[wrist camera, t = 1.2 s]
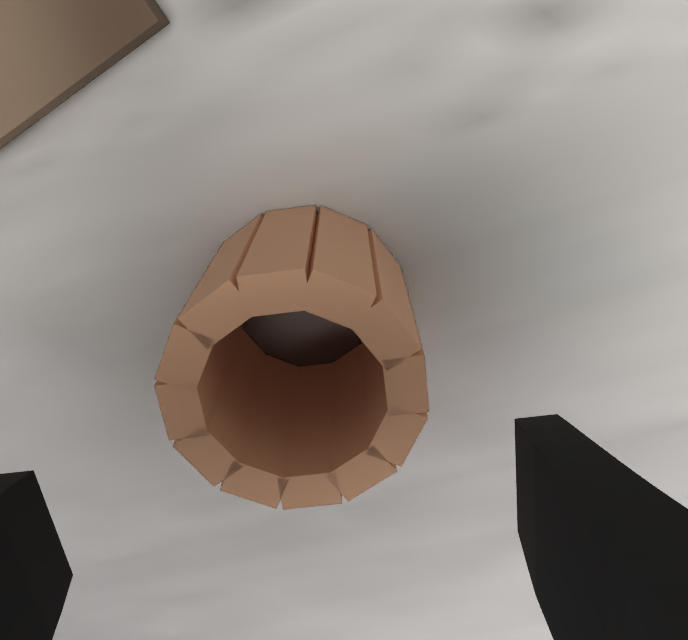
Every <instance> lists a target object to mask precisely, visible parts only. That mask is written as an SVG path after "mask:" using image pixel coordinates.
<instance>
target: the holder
mask: <svg viewBox="0 0 688 640" xmlns="http://www.w3.org/2000/svg"><path fill="white" fill-rule="evenodd" d="M169 23H170V22H169V21H168V19H167V18H166V16H165V15H164V13H163V12H162V10H161V9H160V7H159V6H158V4H157V3H156V1H155V0H0V148H2V147H3V146H4V145H6V144H7V143H8V142H10V141H11V140H12V139H14V138H15V137H16V136H18V135H19V134H20V133H22V132H23V131H24V130H26V129H27V128H29V127H30V126H31V125H33V124H34V123H35V122H37V121H38V120H39V119H41V118H42V117H43V116H45V115H46V114H47V113H49V112H50V111H51V110H53V109H54V108H56V107H57V106H58V105H60V104H61V103H62V102H64V101H65V100H66V99H68V98H69V97H70V96H72V95H73V94H74V93H76V92H77V91H78V90H80V89H81V88H83V87H84V86H85V85H87V84H88V83H89V82H91V81H92V80H93V79H95V78H96V77H97V76H99V75H100V74H101V73H103V72H104V71H105V70H107V69H108V68H110V67H111V66H112V65H114V64H115V63H116V62H118V61H119V60H120V59H122V58H123V57H124V56H126V55H127V54H128V53H130V52H131V51H133V50H134V49H135V48H137V47H138V46H139V45H141V44H142V43H143V42H145V41H146V40H147V39H149V38H150V37H151V36H153V35H154V34H155V33H157V32H158V31H160V30H161V29H162V28H164V27H165V26H166V25H168V24H169Z"/></svg>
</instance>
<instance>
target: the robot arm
mask: <svg viewBox="0 0 688 640" xmlns="http://www.w3.org/2000/svg"><path fill="white" fill-rule="evenodd" d="M515 449H516V486H517V523H518V533H519V537H520V541H521V544H522V548H523V552H524V555H525V559H526V563H527V566H528V570H529V573H530V577H531V580H532V584H533V587H534V591H535V594H536V597H537V599H538V602H539V604H540V607H541V609H542V612H543V614H544V617H545V619H546V622H547V624H548V627H549V629H550V632H551V634H552V637H553V639H554V640H688V509H687V508H686V507H684V506H683V505H681V504H680V503H678V502H677V501H675V500H674V499H672V498H671V497H669V496H668V495H666V494H665V493H663V492H662V491H660V490H659V489H658V488H656V487H655V486H653V485H652V484H650V483H649V482H648V481H646V480H645V479H643V478H642V477H641V476H639V475H638V474H636V473H635V472H634V471H632V470H631V469H630V468H628V467H627V466H625V465H624V464H623V463H621V462H620V461H619V460H617V459H616V458H615V457H613V456H612V455H611V454H609V453H608V452H607V451H605V450H604V449H603V448H601V447H600V446H599V445H597V444H596V443H595V442H593V441H592V440H591V439H590V438H588V437H587V436H586V435H584V434H583V433H582V432H580V431H579V430H578V429H576V428H575V427H574V426H573V425H571V424H570V423H569V422H567V421H566V420H564V419H563V418H562V417H560V416H559V415H558V414H555V415H546V416H536V417H527V418H518V419H515ZM72 576H73V574H72V571H71V568H70V566H69V563H68V561H67V558H66V555H65V553H64V550H63V547H62V545H61V542H60V539H59V537H58V534H57V531H56V529H55V526H54V523H53V521H52V518H51V516H50V513H49V510H48V508H47V505H46V502H45V500H44V497H43V494H42V492H41V489H40V486H39V484H38V481H37V478H36V476H35V473H34V471H24V472H15V473H6V474H0V640H52V638H53V635H54V632H55V629H56V627H57V624H58V621H59V618H60V615H61V612H62V609H63V606H64V602H65V599H66V596H67V592H68V589H69V586H70V582H71V579H72Z"/></svg>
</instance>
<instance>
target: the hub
mask: <svg viewBox="0 0 688 640" xmlns="http://www.w3.org/2000/svg"><path fill="white" fill-rule="evenodd" d="M297 311H306V312H309V313H311V314H314V315H316V316H319V317H322V318H324V319H327V320H329V321H332V322H335V323H337V324H340V325H342V326H345V327H348V328H350V329H352V330H353V331H354V332H355V333H356V334H357V336H358V337H359V338H360V339H361V340H362V343H361V344H360V345H358V346H357V347H355V348H354V349H352V350H351V351H350V352H348V353H347V354H345V355H344V356H342V357H341V358H339V359H338V360H336V361H335V362H334V363H326V364H318V365H309V366H300V367H298V366H295V365H293V364H290V363H287V362H285V361H282V360H279V359H276V358H274V357H271V356H268V355H266V354H265V353H264V352H263V351H262V350H261V349H260V348H259V346H258V345H257V344H256V343H255V342H254V341H253V340H252V339H251V338H250V336H249V335H248V334H247V333H246V332H245V331H244V330H243V328H242V324H243V323H244V322H245V321H247V320H248V319H250V318H251V317H254V316H263V315H271V314H280V313H288V312H297ZM155 380H157V382H156V384H155V385H154V387H155V391H156V394H157V398H158V402H159V405H160V409H161V413H162V416H163V420H164V424H165V427H166V431H167V435H168V438H169V440H175V442H174V444H173V447H174V448H175V449H176V450H177V451H178V452H179V453H180V454H181V455H182V456H183V457H184V458H185V459H186V460H187V461H188V462H189V463H190V464H191V465H192V466H193V467H194V468H195V469H196V470H197V471H198V472H199V473H200V474H202V475H203V476H204V477H205V478H206V479H207V480H208V481H209V482H210V483H211V484H212V485H213V486H215V485H217V484H218V483H220V482H222V484H221V488H220V490H221V491H224V492H227V493H230V494H233V495H236V496H239V497H242V498H245V499H248V500H251V501H254V502H257V503H260V504H263V505H266V506H269V507H272V508H275V509H276V508H277V506H278V504H279V502H280V499H281V502H282V507H283V510H284V509H294V508H304V507H313V506H323V505H332V504H342V495H343V496H344V497H345V498H346V499H347V500H348V501H350V500H351V499H353V498H354V497H356V496H358V495H359V494H361V493H363V492H364V491H366V490H367V489H369V488H371V487H372V486H374V485H376V484H377V483H379V482H380V481H382V480H384V479H385V478H387V477H389V476H390V475H392V474H393V473H395V472H397V469H396V465H398V466H402V465H403V463H404V461H405V459H406V457H407V455H408V454H409V452H410V450H411V448H412V446H413V444H414V443H415V441H416V439H417V437H418V435H419V433H420V432H421V430H422V428H423V426H424V424H425V422H426V421H427V419H428V417H427V412H429V403H428V391H427V380H426V368H425V357H424V352H423V348H422V344H421V341H420V337H419V333H418V329H417V326H416V322H415V318H414V314H413V311H412V307H411V303H410V299H409V296H408V292H407V288H406V284H405V281H404V277H403V273H402V271H401V268H400V265H399V264H398V262H397V261H396V260H395V259H394V257H393V256H392V255H391V253H390V252H389V251H388V249H387V248H386V247H385V245H384V244H383V243H382V241H381V240H380V239H379V238H378V236H377V235H376V234H375V232H374V231H373V230H372V228H371V229H370V230H368V229H367V225H366V224H364V223H361V222H359V221H357V220H354V219H352V218H349V217H347V216H344V215H342V214H340V213H337V212H335V211H332V210H330V209H328V208H325V207H323V206H321V208H320V210H319V213H318V215H317V213H316V206H315V205H312V206H305V207H297V208H289V209H281V210H273V211H266V213H265V215H264V217H263V215H262V214H260V215H258V216H257V217H256V218H255V219H253V220H252V221H251V222H249V223H248V224H247V225H246V226H244V227H243V228H242V229H240V230H239V231H238V232H237V233H235V234H234V235H233V236H231V237H230V238H229V239H228V240H226V241H225V242H224V243H223V244H222V246H221V247H220V248H219V250H218V252H217V253H216V255H215V257H214V258H213V260H212V262H211V263H210V265H209V267H208V268H207V270H206V271H205V273H204V275H203V276H202V278H201V280H200V281H199V283H198V285H197V286H196V288H195V290H194V291H193V293H192V294H191V296H190V298H189V299H188V301H187V303H186V304H185V306H184V308H183V309H182V311H181V313H180V314H179V316H178V318H177V319H176V321H175V322H174V324H173V327H172V330H171V333H170V336H169V338H168V341H167V344H166V347H165V350H164V353H163V356H162V359H161V362H160V364H159V367H158V370H157V373H156V376H155Z"/></svg>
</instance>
